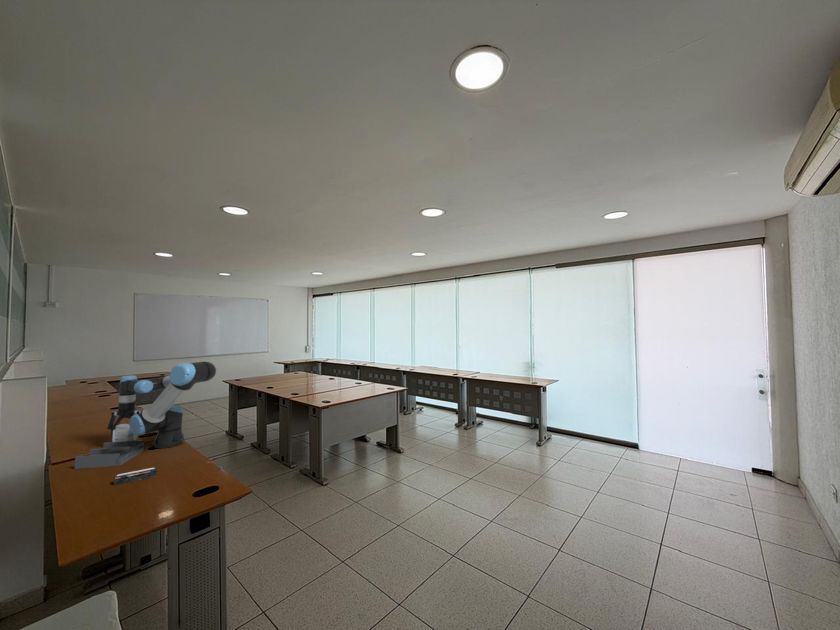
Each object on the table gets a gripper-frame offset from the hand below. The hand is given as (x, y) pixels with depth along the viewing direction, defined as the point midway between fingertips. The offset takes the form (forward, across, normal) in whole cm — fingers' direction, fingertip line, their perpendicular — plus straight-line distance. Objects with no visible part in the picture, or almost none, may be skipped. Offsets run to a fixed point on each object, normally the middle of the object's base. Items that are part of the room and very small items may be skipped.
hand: (124, 440), depth 195 cm
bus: (+5, -27, +50) cm, 57 cm away
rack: (+5, -3, +18) cm, 19 cm away
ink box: (+3, 0, 0) cm, 3 cm away
